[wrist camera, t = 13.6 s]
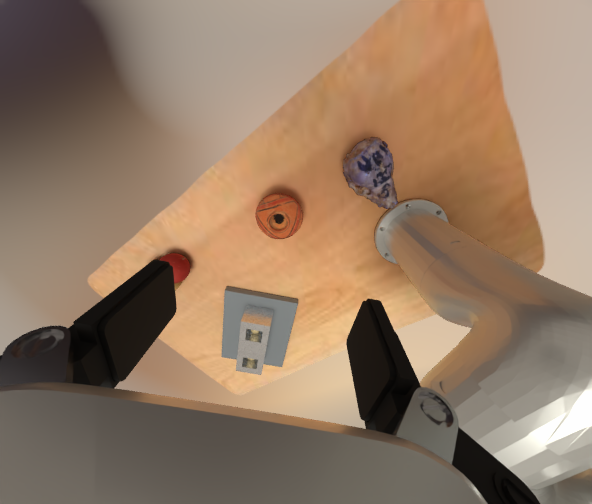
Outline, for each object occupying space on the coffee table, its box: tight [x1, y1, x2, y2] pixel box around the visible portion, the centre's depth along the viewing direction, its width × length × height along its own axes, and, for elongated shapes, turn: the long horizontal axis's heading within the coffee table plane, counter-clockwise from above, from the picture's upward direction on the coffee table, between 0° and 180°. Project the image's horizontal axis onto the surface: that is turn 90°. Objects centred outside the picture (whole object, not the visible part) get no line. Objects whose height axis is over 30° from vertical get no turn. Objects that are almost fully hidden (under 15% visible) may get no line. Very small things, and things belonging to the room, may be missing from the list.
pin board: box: [222, 286, 298, 367], centre depth 51 cm, size 16×22×5 cm
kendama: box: [151, 253, 190, 291], centre depth 46 cm, size 8×6×18 cm
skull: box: [343, 137, 398, 209], centre depth 34 cm, size 12×8×6 cm, turn 30°
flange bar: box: [236, 305, 274, 375], centre depth 50 cm, size 16×6×5 cm, turn 169°
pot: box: [256, 194, 303, 239], centre depth 37 cm, size 8×8×7 cm
